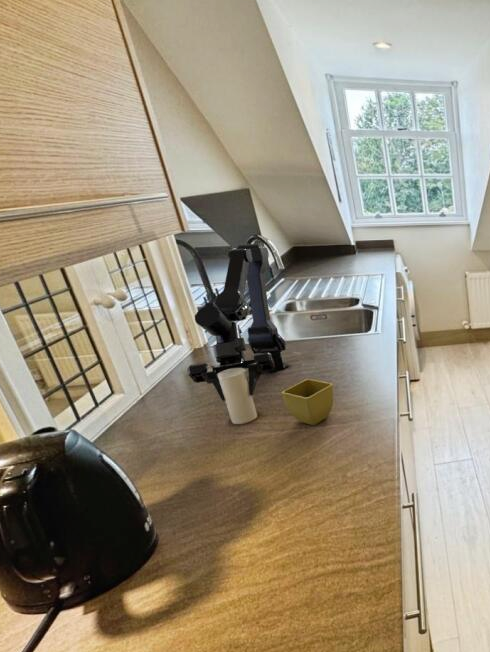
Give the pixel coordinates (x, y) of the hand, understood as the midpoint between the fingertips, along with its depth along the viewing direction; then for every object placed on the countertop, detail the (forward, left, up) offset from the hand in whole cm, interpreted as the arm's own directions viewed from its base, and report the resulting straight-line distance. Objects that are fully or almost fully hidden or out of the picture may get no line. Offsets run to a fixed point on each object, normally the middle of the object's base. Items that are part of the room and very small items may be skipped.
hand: (237, 397), depth 113 cm
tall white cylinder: (-1, +1, -7) cm, 7 cm away
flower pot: (+15, +10, -7) cm, 20 cm away
